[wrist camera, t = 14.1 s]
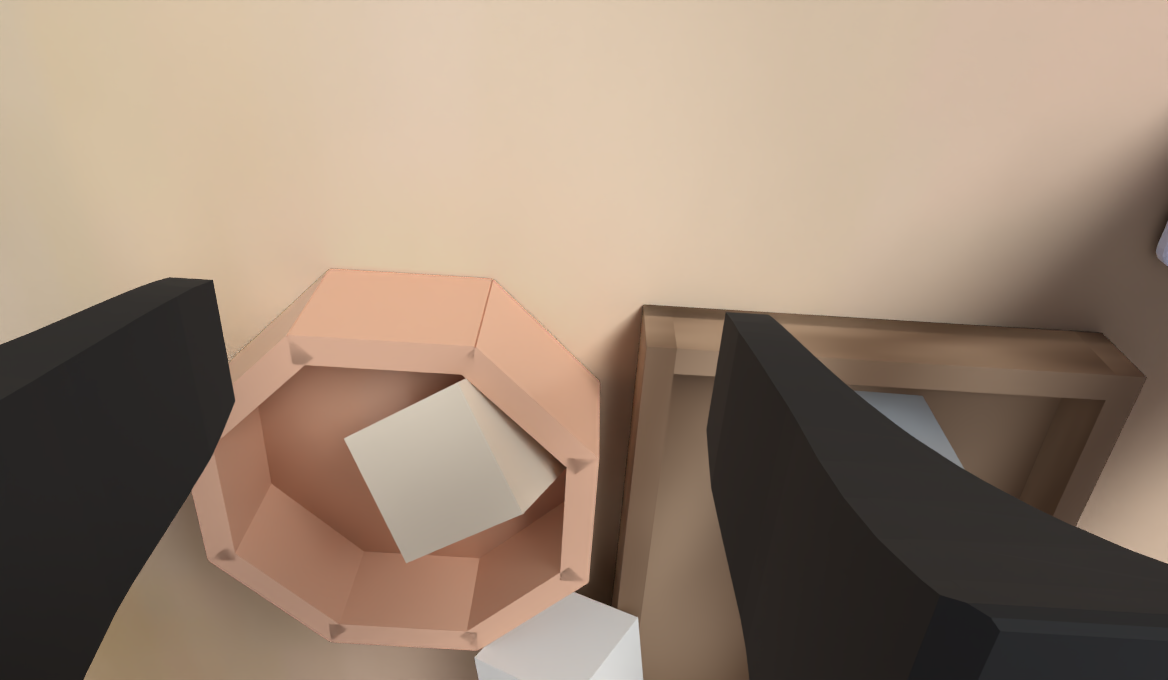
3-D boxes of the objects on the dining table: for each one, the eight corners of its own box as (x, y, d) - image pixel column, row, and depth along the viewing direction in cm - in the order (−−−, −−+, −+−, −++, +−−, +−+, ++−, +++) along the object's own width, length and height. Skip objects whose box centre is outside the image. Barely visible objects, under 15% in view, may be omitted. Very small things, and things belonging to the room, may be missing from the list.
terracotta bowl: (607, 285, 22) (608, 354, 19) (584, 568, 28) (582, 656, 25) (213, 261, 22) (152, 326, 19) (267, 549, 28) (225, 636, 25)
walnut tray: (1101, 333, 23) (1147, 377, 21) (944, 698, 31) (966, 754, 29) (643, 304, 23) (646, 346, 21) (603, 678, 31) (603, 733, 29)
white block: (570, 704, 23) (582, 788, 24) (638, 617, 25) (644, 698, 27) (474, 657, 24) (490, 738, 26) (546, 581, 27) (557, 659, 28)
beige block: (566, 467, 23) (511, 356, 23) (523, 513, 19) (457, 382, 19) (464, 512, 24) (411, 405, 24) (405, 563, 20) (343, 438, 20)
